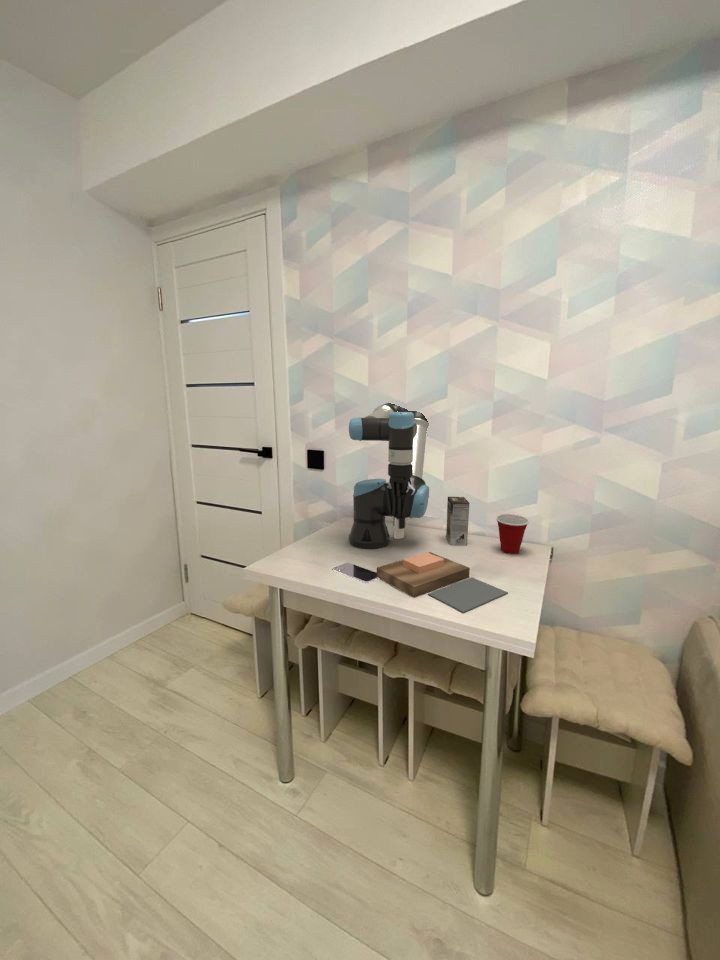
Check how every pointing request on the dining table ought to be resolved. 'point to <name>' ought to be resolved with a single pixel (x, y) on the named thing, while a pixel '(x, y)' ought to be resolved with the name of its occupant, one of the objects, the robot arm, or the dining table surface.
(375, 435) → the robot arm
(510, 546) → the plastic cup
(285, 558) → the dining table surface
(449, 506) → the coffee box
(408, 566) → the coral block
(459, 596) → the rubber mat
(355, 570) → the mobile phone
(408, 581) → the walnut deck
